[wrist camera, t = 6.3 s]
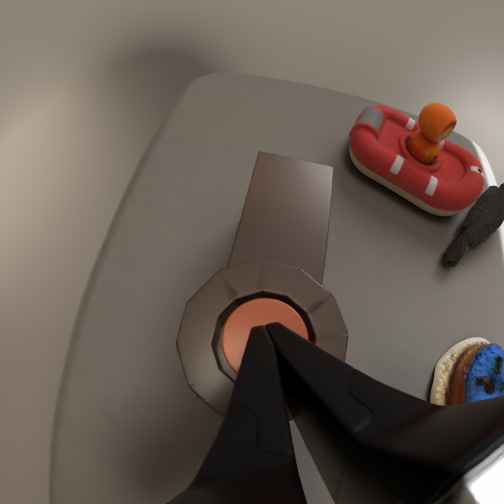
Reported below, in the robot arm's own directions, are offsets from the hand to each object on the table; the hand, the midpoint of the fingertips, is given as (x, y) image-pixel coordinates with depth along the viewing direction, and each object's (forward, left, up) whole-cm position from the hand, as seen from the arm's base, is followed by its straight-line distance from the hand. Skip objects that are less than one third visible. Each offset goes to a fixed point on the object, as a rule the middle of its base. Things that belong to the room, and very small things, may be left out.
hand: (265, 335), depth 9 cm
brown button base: (+3, +1, -8) cm, 9 cm away
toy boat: (+18, -7, -8) cm, 21 cm away
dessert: (+2, -15, -8) cm, 18 cm away
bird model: (+16, -12, -7) cm, 21 cm away
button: (0, 0, -2) cm, 2 cm away
